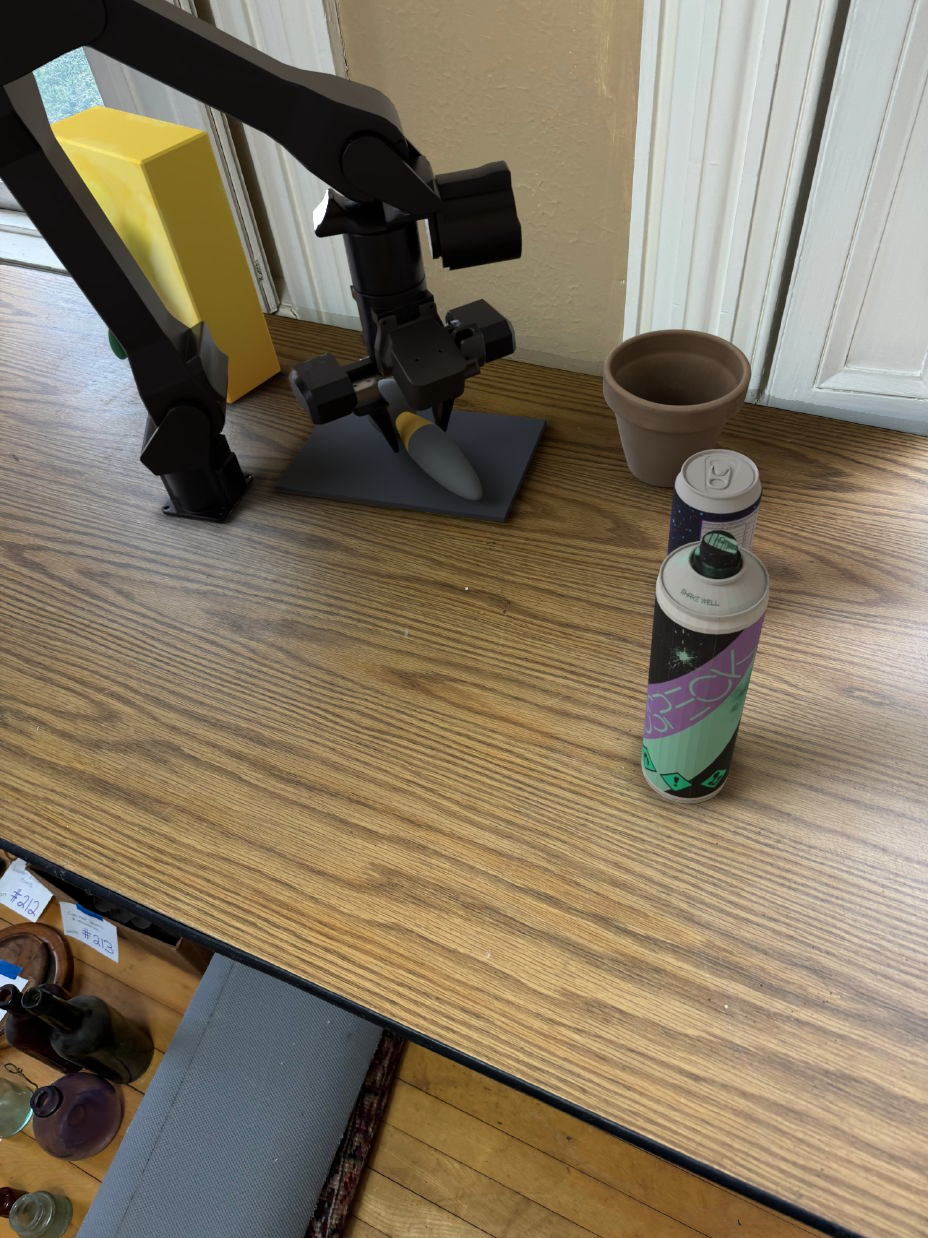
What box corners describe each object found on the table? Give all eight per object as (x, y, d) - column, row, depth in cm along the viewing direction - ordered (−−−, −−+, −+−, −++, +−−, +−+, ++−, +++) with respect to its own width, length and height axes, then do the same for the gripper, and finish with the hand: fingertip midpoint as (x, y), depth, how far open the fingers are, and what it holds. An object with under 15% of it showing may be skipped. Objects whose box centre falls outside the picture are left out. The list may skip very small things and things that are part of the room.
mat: (276, 491, 79) (274, 486, 78) (337, 402, 87) (335, 397, 87) (504, 523, 72) (504, 517, 72) (546, 424, 81) (546, 419, 80)
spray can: (632, 736, 57) (648, 511, 42) (714, 725, 57) (759, 495, 42) (651, 809, 53) (675, 590, 39) (739, 798, 53) (797, 574, 38)
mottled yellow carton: (97, 380, 95) (-17, 151, 77) (185, 328, 101) (97, 103, 83) (192, 430, 87) (88, 185, 69) (282, 371, 92) (208, 130, 74)
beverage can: (745, 576, 65) (770, 450, 56) (735, 631, 62) (760, 506, 53) (670, 565, 67) (683, 440, 58) (656, 617, 64) (667, 494, 55)
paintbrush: (515, 489, 74) (511, 442, 70) (469, 516, 73) (463, 469, 69) (389, 397, 86) (380, 353, 82) (348, 419, 84) (336, 375, 80)
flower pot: (760, 453, 75) (779, 350, 67) (691, 527, 70) (704, 424, 62) (647, 411, 80) (653, 312, 73) (576, 477, 75) (574, 378, 68)
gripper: (311, 364, 59) (356, 530, 71) (545, 281, 63) (551, 450, 75) (263, 299, 66) (312, 460, 78) (477, 228, 70) (492, 391, 82)
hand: (418, 441), depth 78 cm, fingers closed on paintbrush, 4 cm apart
